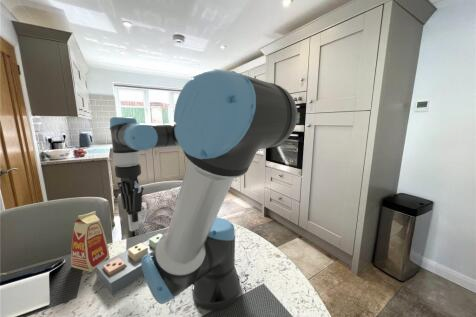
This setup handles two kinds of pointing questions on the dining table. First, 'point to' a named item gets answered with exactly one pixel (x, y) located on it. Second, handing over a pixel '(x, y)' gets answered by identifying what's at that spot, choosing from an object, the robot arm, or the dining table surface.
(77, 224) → the milk carton
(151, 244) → the tile one
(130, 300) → the dining table surface
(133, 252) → the tile two
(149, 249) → the button board
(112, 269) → the tile three
